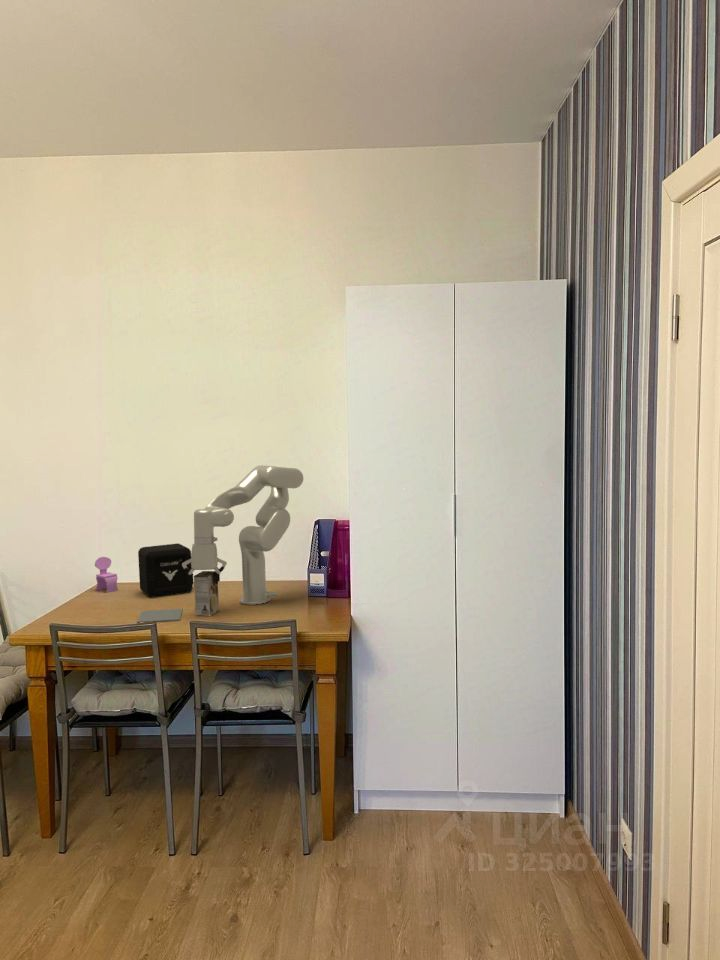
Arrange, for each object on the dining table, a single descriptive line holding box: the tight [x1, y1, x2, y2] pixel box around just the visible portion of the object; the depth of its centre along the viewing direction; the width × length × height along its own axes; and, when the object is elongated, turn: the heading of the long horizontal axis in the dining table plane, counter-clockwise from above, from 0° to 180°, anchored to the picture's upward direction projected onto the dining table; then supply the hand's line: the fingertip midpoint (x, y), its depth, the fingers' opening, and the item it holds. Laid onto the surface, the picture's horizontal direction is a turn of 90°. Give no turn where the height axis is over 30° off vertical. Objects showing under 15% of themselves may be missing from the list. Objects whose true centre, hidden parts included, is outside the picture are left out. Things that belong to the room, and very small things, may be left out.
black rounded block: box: [137, 543, 193, 598], centre depth 348 cm, size 20×15×20 cm
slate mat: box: [136, 608, 184, 624], centre depth 310 cm, size 16×16×1 cm
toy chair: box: [94, 556, 119, 594], centre depth 354 cm, size 8×9×15 cm
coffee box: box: [193, 570, 220, 616], centre depth 313 cm, size 9×6×16 cm
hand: (204, 583), depth 312 cm, fingers open, 9 cm apart
